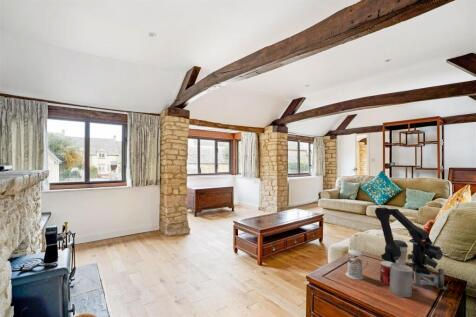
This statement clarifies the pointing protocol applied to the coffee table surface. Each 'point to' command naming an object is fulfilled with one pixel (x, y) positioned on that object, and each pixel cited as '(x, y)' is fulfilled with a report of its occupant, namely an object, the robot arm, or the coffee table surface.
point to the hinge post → (441, 279)
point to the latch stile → (417, 280)
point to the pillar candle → (401, 279)
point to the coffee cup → (402, 251)
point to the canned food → (385, 272)
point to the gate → (429, 282)
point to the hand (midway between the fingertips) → (417, 278)
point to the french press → (354, 272)
